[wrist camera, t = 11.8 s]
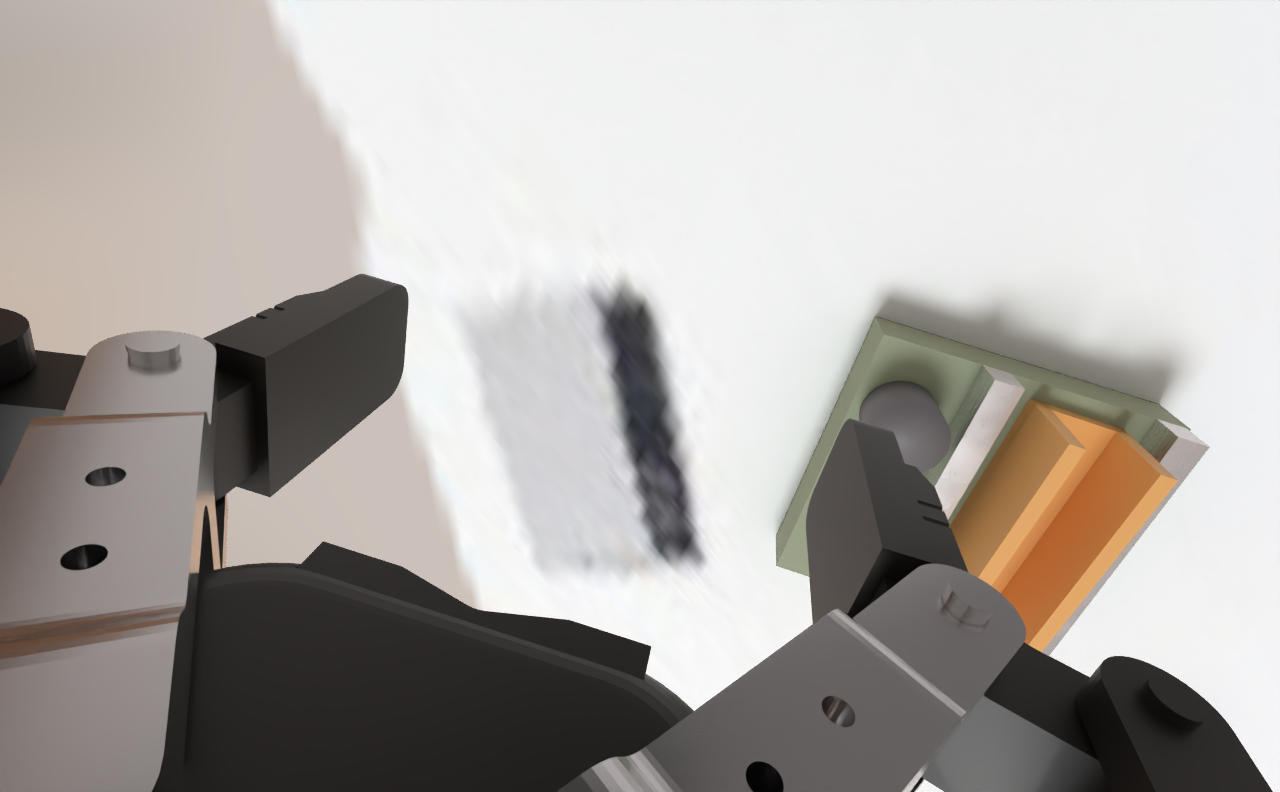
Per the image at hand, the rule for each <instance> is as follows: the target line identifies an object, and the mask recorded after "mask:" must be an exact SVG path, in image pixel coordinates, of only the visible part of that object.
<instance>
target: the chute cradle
mask: <svg viewBox="0 0 1280 792" xmlns="http://www.w3.org/2000/svg"><path fill="white" fill-rule="evenodd" d="M1024 391H1025V389H1024V387H1023V386H1022V385H1021V384H1020V383H1019V382H1018V381H1017V379H1016V378H1015V377H1014V376H1013V375H1012V374H1011V373H1007V372H1004V371H1001V370H998V369H994V368H991V367H988V366H985V365H983V366H982V368H981V370H980V371H979V373H978V375H977V377H976V379H975V380H974V382H973V384H972V386H971V388H970V390H969V391H968V393H967V395H966V397H965V399H964V401H963V402H962V404H961V406H960V408H959V410H958V411H957V413H956V415H955V417H954V419H953V421H952V422H951V424H950V426H949V428H950V432H951V444H950V447H949V450H948V452H947V454H946V455H945V457H944V458H943V459H942V461H941V462H939V463H938V464H937V465H936V466H935V467H933V468H931V469H930V470H928V471H925V472H924V473H923V475H924V476H925V477H926V478H927V479H928V481H929V482H930V483H931V484H932V485H933V486H934V487H935V489H936V491H937V494H938V496H939V499H940V501H941V504H942V507H943V508H942V511H944V512H945V514H946V517H947V519H949V517H950V516H951V514H952V512H953V511H954V509H955V507H956V506H957V504H958V502H959V501H960V499H961V497H962V495H963V494H964V492H965V490H966V489H967V487H968V485H969V484H970V482H971V480H972V479H973V477H974V475H975V474H976V472H977V470H978V468H979V467H980V465H981V463H982V462H983V460H984V458H985V457H986V455H987V453H988V452H989V450H990V448H991V446H992V445H993V443H994V441H995V440H996V438H997V436H998V435H999V433H1000V431H1001V430H1002V428H1003V426H1004V425H1005V423H1006V421H1007V419H1008V418H1009V416H1010V414H1011V413H1012V411H1013V409H1014V408H1015V406H1016V404H1017V403H1018V401H1019V399H1020V398H1021V396H1022V394H1023V392H1024ZM1139 444H1140V445H1141V446H1142V447H1143V448H1144V449H1145V450H1146V451H1147V452H1149V453H1150V454H1151V455H1152V456H1153V457H1154V458H1155V459H1156V460H1157V461H1158V462H1159V463H1160V464H1161V465H1162V466H1163V467H1164V468H1166V469H1167V470H1168V471H1169V472H1170V473H1171V474H1172V475H1173V476H1174V477H1175V478H1176V479H1177V480H1178V482H1177V483H1176V484H1175V485H1174V487H1173V488H1172V489H1171V490H1170V492H1169V493H1168V494H1167V496H1166V497H1165V498H1164V499H1163V501H1162V502H1161V503H1160V504H1159V506H1158V507H1157V508H1156V509H1155V511H1154V512H1153V513H1152V514H1151V516H1150V517H1149V518H1148V519H1147V521H1146V522H1145V523H1144V524H1143V526H1142V527H1141V528H1140V529H1139V531H1138V532H1137V533H1136V534H1135V536H1134V537H1133V538H1132V539H1131V541H1130V542H1129V543H1128V544H1127V546H1126V547H1125V548H1124V549H1123V551H1122V552H1121V553H1120V554H1119V556H1118V557H1117V558H1116V560H1115V561H1114V562H1113V563H1112V565H1111V566H1110V567H1109V568H1108V570H1107V571H1106V572H1105V573H1104V575H1103V576H1102V577H1101V578H1100V580H1099V581H1098V582H1097V583H1096V585H1095V586H1094V587H1093V588H1092V590H1091V591H1090V592H1089V593H1088V595H1087V596H1086V597H1085V598H1084V600H1083V601H1082V602H1081V603H1080V605H1079V606H1078V607H1077V608H1076V610H1075V611H1074V612H1073V613H1072V615H1071V616H1070V617H1069V618H1068V620H1067V621H1066V622H1065V624H1064V625H1063V626H1062V627H1061V629H1060V630H1059V631H1058V632H1057V634H1056V635H1055V636H1054V637H1053V639H1052V640H1051V641H1050V642H1049V644H1048V645H1047V646H1046V647H1045V649H1044V650H1043V651H1042V653H1044V654H1046V655H1048V656H1049V655H1050V654H1051V653H1052V651H1053V650H1054V649H1055V647H1056V646H1057V645H1058V643H1059V642H1060V641H1061V640H1062V638H1063V637H1064V636H1065V634H1066V633H1067V632H1068V630H1069V629H1070V628H1071V627H1072V625H1073V624H1074V623H1075V621H1076V620H1077V619H1078V617H1079V616H1080V615H1081V614H1082V612H1083V611H1084V610H1085V608H1086V607H1087V606H1088V604H1089V603H1090V602H1091V601H1092V599H1093V598H1094V597H1095V595H1096V594H1097V593H1098V591H1099V590H1100V589H1101V588H1102V586H1103V585H1104V584H1105V582H1106V581H1107V580H1108V578H1109V577H1110V576H1111V575H1112V573H1113V572H1114V571H1115V569H1116V568H1117V567H1118V565H1119V564H1120V563H1121V562H1122V560H1123V559H1124V558H1125V556H1126V555H1127V554H1128V552H1129V551H1130V550H1131V549H1132V547H1133V546H1134V545H1135V543H1136V542H1137V541H1138V539H1139V538H1140V537H1141V536H1142V534H1143V533H1144V532H1145V530H1146V529H1147V528H1148V526H1149V525H1150V524H1151V523H1152V521H1153V520H1154V519H1155V517H1156V516H1157V515H1158V513H1159V512H1160V511H1161V510H1162V508H1163V507H1164V506H1165V504H1166V503H1167V502H1168V500H1169V499H1170V498H1171V497H1172V495H1173V494H1174V493H1175V491H1176V490H1177V489H1178V487H1179V486H1180V485H1181V484H1182V482H1183V481H1184V480H1185V478H1186V477H1187V476H1188V474H1189V473H1190V472H1191V471H1192V469H1193V468H1194V467H1195V465H1196V464H1197V463H1198V461H1199V460H1200V459H1201V458H1202V456H1203V455H1204V454H1205V452H1206V451H1207V450H1208V448H1209V446H1208V445H1207V444H1205V443H1204V442H1203V441H1202V440H1200V439H1199V438H1198V437H1197V436H1195V435H1194V434H1193V433H1192V432H1190V431H1189V430H1188V429H1187V428H1184V427H1181V426H1178V425H1175V424H1171V423H1168V422H1165V421H1162V420H1159V419H1156V420H1155V422H1154V423H1153V425H1152V426H1151V427H1150V429H1149V430H1148V432H1147V433H1146V435H1145V436H1144V437H1143V439H1142V440H1141V442H1140V443H1139Z"/></svg>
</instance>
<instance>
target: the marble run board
mask: <svg viewBox="0 0 1280 792" xmlns="http://www.w3.org/2000/svg"><path fill="white" fill-rule="evenodd" d="M983 365H985V366H988V367H991V368H994V369H998V370H1001V371H1004V372H1007V373H1011V374H1012V375H1013V376H1014V377H1015V378H1016V379H1017V381H1018V382H1019V383H1020V384H1021V385H1022V386H1023V387H1024V389H1025V391H1024V392H1023V394H1022V396H1021V398H1020V399H1019V401H1018V403H1017V404H1016V406H1015V408H1014V409H1013V411H1012V413H1011V414H1010V416H1009V418H1008V419H1007V421H1006V423H1005V425H1004V426H1003V428H1002V430H1001V431H1000V433H999V435H998V436H997V438H996V440H995V441H994V443H993V445H992V446H991V448H990V450H989V452H988V453H987V455H986V457H985V458H984V460H983V462H982V463H981V465H980V467H979V468H978V470H977V472H976V474H975V475H974V477H973V479H972V480H971V482H970V484H969V485H968V487H967V489H966V490H965V492H964V494H963V495H962V497H961V499H960V501H959V502H958V504H957V506H956V507H955V509H954V511H953V512H952V514H951V516H950V517H949V519H948V522H949V526H950V525H951V523H952V522H953V520H954V518H955V517H956V515H957V514H958V512H959V510H960V509H961V507H962V506H963V504H964V502H965V501H966V499H967V498H968V496H969V494H970V493H971V491H972V490H973V488H974V487H975V485H976V483H977V482H978V480H979V479H980V477H981V475H982V474H983V472H984V471H985V469H986V467H987V466H988V464H989V463H990V461H991V459H992V458H993V456H994V455H995V453H996V452H997V450H998V448H999V447H1000V445H1001V444H1002V442H1003V440H1004V439H1005V437H1006V436H1007V434H1008V432H1009V431H1010V429H1011V428H1012V426H1013V424H1014V423H1015V421H1016V420H1017V418H1018V417H1019V415H1020V413H1021V412H1022V410H1023V409H1024V407H1025V405H1026V404H1027V402H1028V401H1029V399H1030V398H1031V399H1034V400H1037V401H1040V402H1043V403H1046V404H1049V405H1052V406H1055V407H1058V408H1061V409H1064V410H1067V411H1070V412H1073V413H1076V414H1079V415H1082V416H1085V417H1088V418H1091V419H1094V420H1097V421H1100V422H1103V423H1106V424H1109V425H1112V426H1115V427H1118V428H1121V429H1124V430H1125V431H1126V432H1127V433H1128V434H1129V435H1130V436H1132V437H1133V438H1134V439H1135V440H1136V441H1137V442H1138V443H1140V442H1141V440H1142V439H1143V437H1144V436H1145V435H1146V433H1147V432H1148V430H1149V429H1150V427H1151V426H1152V425H1153V423H1154V422H1155V420H1156V419H1159V420H1162V421H1165V422H1168V423H1171V424H1175V425H1178V426H1181V427H1184V428H1187V429H1188V430H1189V431H1190V430H1191V429H1190V428H1188V427H1187V426H1186V425H1185V424H1183V423H1182V422H1181V421H1179V420H1178V419H1177V418H1176V417H1174V416H1173V415H1172V414H1171V413H1169V412H1168V411H1167V410H1166V409H1164V408H1163V407H1162V406H1161V405H1159V404H1156V403H1153V402H1150V401H1146V400H1143V399H1140V398H1137V397H1133V396H1130V395H1127V394H1124V393H1120V392H1117V391H1114V390H1111V389H1108V388H1104V387H1101V386H1098V385H1095V384H1091V383H1088V382H1085V381H1082V380H1078V379H1075V378H1072V377H1069V376H1066V375H1062V374H1059V373H1056V372H1053V371H1049V370H1046V369H1043V368H1040V367H1036V366H1033V365H1030V364H1027V363H1024V362H1020V361H1017V360H1014V359H1011V358H1007V357H1004V356H1001V355H998V354H995V353H991V352H988V351H985V350H982V349H978V348H975V347H972V346H969V345H965V344H962V343H959V342H956V341H953V340H949V339H946V338H943V337H940V336H936V335H933V334H930V333H927V332H923V331H920V330H917V329H914V328H911V327H907V326H904V325H901V324H898V323H894V322H891V321H888V320H885V319H881V318H878V317H875V318H874V321H873V323H872V325H871V327H870V330H869V332H868V334H867V336H866V338H865V341H864V343H863V345H862V347H861V350H860V352H859V354H858V356H857V358H856V361H855V363H854V365H853V367H852V369H851V372H850V374H849V376H848V378H847V381H846V383H845V385H844V387H843V389H842V392H841V394H840V396H839V398H838V401H837V403H836V405H835V407H834V409H833V412H832V414H831V416H830V418H829V420H828V423H827V425H826V427H825V429H824V432H823V434H822V436H821V438H820V440H819V443H818V445H817V447H816V449H815V452H814V454H813V456H812V458H811V460H810V463H809V465H808V467H807V469H806V471H805V474H804V476H803V478H802V480H801V483H800V485H799V487H798V489H797V491H796V494H795V496H794V498H793V500H792V503H791V505H790V507H789V509H788V511H787V514H786V516H785V518H784V520H783V522H782V525H781V527H780V529H779V531H778V534H777V536H776V566H779V567H782V568H785V569H788V570H791V571H794V572H797V573H800V574H803V575H806V576H809V563H808V550H807V536H806V516H807V511H808V506H809V502H810V499H811V496H812V493H813V491H814V488H815V486H816V484H817V482H818V479H819V477H820V475H821V473H822V470H823V468H824V466H825V464H826V461H827V459H828V457H829V454H830V452H831V450H832V448H833V445H834V443H835V441H836V439H837V436H838V434H839V432H840V430H841V428H842V426H843V424H844V423H845V422H846V421H847V420H848V419H850V418H851V419H854V420H858V421H861V422H864V423H868V424H871V425H874V426H878V427H881V428H885V429H888V430H891V431H893V432H894V434H895V437H896V440H897V442H898V445H899V448H900V451H901V454H902V457H903V460H904V463H905V464H908V465H911V466H915V467H917V468H918V470H919V471H920V472H921V473H922V474H923V473H924V472H925V471H928V470H930V469H931V468H933V467H935V466H936V465H937V464H938V463H939V462H941V461H942V459H943V458H944V457H945V455H946V454H947V452H948V450H949V447H950V444H951V432H950V428H949V426H950V424H951V422H952V421H953V419H954V417H955V415H956V413H957V411H958V410H959V408H960V406H961V404H962V402H963V401H964V399H965V397H966V395H967V393H968V391H969V390H970V388H971V386H972V384H973V382H974V380H975V379H976V377H977V375H978V373H979V371H980V370H981V368H982V366H983Z"/></svg>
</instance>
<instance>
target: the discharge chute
mask: <svg viewBox="0 0 1280 792" xmlns="http://www.w3.org/2000/svg"><path fill="white" fill-rule="evenodd" d="M1177 482H1178V480H1177V479H1176V478H1175V477H1174V476H1173V475H1172V474H1171V473H1170V472H1169V471H1168V470H1167V469H1166V468H1164V467H1163V466H1162V465H1161V464H1160V463H1159V462H1158V461H1157V460H1156V459H1155V458H1154V457H1153V456H1152V455H1151V454H1150V453H1149V452H1147V451H1146V450H1145V449H1144V448H1143V447H1142V446H1141V445H1140V444H1139V443H1138V442H1137V441H1136V440H1135V439H1134V438H1133V437H1132V436H1130V435H1129V434H1128V433H1127V432H1126V431H1125V430H1124V429H1121V428H1118V427H1115V426H1112V425H1109V424H1106V423H1103V422H1100V421H1097V420H1094V419H1091V418H1088V417H1085V416H1082V415H1079V414H1076V413H1073V412H1070V411H1067V410H1064V409H1061V408H1058V407H1055V406H1052V405H1049V404H1046V403H1043V402H1040V401H1037V400H1034V399H1031V398H1030V399H1029V401H1028V402H1027V404H1026V405H1025V407H1024V409H1023V410H1022V412H1021V413H1020V415H1019V417H1018V418H1017V420H1016V421H1015V423H1014V424H1013V426H1012V428H1011V429H1010V431H1009V432H1008V434H1007V436H1006V437H1005V439H1004V440H1003V442H1002V444H1001V445H1000V447H999V448H998V450H997V452H996V453H995V455H994V456H993V458H992V459H991V461H990V463H989V464H988V466H987V467H986V469H985V471H984V472H983V474H982V475H981V477H980V479H979V480H978V482H977V483H976V485H975V487H974V488H973V490H972V491H971V493H970V494H969V496H968V498H967V499H966V501H965V502H964V504H963V506H962V507H961V509H960V510H959V512H958V514H957V515H956V517H955V518H954V520H953V522H952V523H951V525H950V526H949V528H951V529H952V532H953V534H954V537H955V539H956V542H957V544H958V547H959V549H960V552H961V555H962V557H963V560H964V562H965V565H966V567H967V570H968V572H969V573H970V574H972V575H974V576H976V577H978V578H980V579H981V580H983V581H984V582H986V583H988V584H989V585H990V586H992V587H993V588H995V589H996V590H997V591H998V592H1000V593H1001V594H1002V595H1003V596H1004V597H1005V598H1006V599H1007V600H1008V601H1009V602H1010V603H1011V604H1012V605H1013V606H1014V608H1015V609H1016V610H1017V611H1018V613H1019V615H1020V616H1021V618H1022V620H1023V622H1024V625H1025V628H1026V639H1025V641H1024V642H1025V643H1026V644H1028V645H1030V646H1031V647H1033V648H1035V649H1037V650H1038V651H1040V652H1042V651H1043V650H1044V649H1045V647H1046V646H1047V645H1048V644H1049V642H1050V641H1051V640H1052V639H1053V637H1054V636H1055V635H1056V634H1057V632H1058V631H1059V630H1060V629H1061V627H1062V626H1063V625H1064V624H1065V622H1066V621H1067V620H1068V618H1069V617H1070V616H1071V615H1072V613H1073V612H1074V611H1075V610H1076V608H1077V607H1078V606H1079V605H1080V603H1081V602H1082V601H1083V600H1084V598H1085V597H1086V596H1087V595H1088V593H1089V592H1090V591H1091V590H1092V588H1093V587H1094V586H1095V585H1096V583H1097V582H1098V581H1099V580H1100V578H1101V577H1102V576H1103V575H1104V573H1105V572H1106V571H1107V570H1108V568H1109V567H1110V566H1111V565H1112V563H1113V562H1114V561H1115V560H1116V558H1117V557H1118V556H1119V554H1120V553H1121V552H1122V551H1123V549H1124V548H1125V547H1126V546H1127V544H1128V543H1129V542H1130V541H1131V539H1132V538H1133V537H1134V536H1135V534H1136V533H1137V532H1138V531H1139V529H1140V528H1141V527H1142V526H1143V524H1144V523H1145V522H1146V521H1147V519H1148V518H1149V517H1150V516H1151V514H1152V513H1153V512H1154V511H1155V509H1156V508H1157V507H1158V506H1159V504H1160V503H1161V502H1162V501H1163V499H1164V498H1165V497H1166V496H1167V494H1168V493H1169V492H1170V490H1171V489H1172V488H1173V487H1174V485H1175V484H1176V483H1177Z"/></svg>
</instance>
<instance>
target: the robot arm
mask: <svg viewBox="0 0 1280 792" xmlns="http://www.w3.org/2000/svg"><path fill="white" fill-rule="evenodd" d="M407 315H408V293H407V290H406V288H405V287H404V286H402V285H399V284H396V283H392V282H389V281H386V280H382V279H379V278H375V277H372V276H369V275H365V274H359V275H356V276H354V277H352V278H350V279H348V280H346V281H344V282H342V283H340V284H338V285H335V286H333V287H331V288H329V289H327V290H325V291H321V292H315V293H310V294H304V295H299V296H295V297H293V298H291V299H289V300H286V301H284V302H283V303H280V304H278V305H276V306H275V307H274V309H273V308H269V309H267V310H264V311H262V312H260V313H258V314H257V315H256V317H253V316H251V317H249V318H247V319H245V320H243V321H240V322H238V323H236V324H234V325H232V326H229V327H227V328H225V329H223V330H221V331H218V332H216V333H214V334H212V335H210V336H207V337H205V338H203V339H202V338H200V337H198V336H194V335H191V334H186V333H181V332H172V331H143V332H133V333H127V334H122V335H118V336H114V337H111V338H108V339H106V340H103V341H101V342H99V343H98V344H96V345H94V346H93V347H92V348H91V349H90V350H89V352H88V353H87V355H86V356H81V355H72V354H64V353H55V352H48V351H38V350H35V348H34V344H33V339H32V334H31V330H30V325H29V322H28V321H27V319H26V318H25V317H23V316H22V315H20V314H18V313H16V312H13V311H10V310H6V309H2V308H0V792H916V791H917V790H918V788H919V787H920V786H921V784H922V783H923V782H924V780H927V781H928V782H930V783H932V784H933V785H935V786H936V787H938V788H940V789H941V790H943V791H944V792H1273V791H1272V790H1271V788H1270V787H1269V785H1268V784H1267V782H1266V781H1265V779H1264V778H1263V776H1262V775H1261V773H1260V771H1259V770H1258V768H1257V767H1256V765H1255V764H1254V762H1253V761H1252V759H1251V758H1250V756H1249V755H1248V753H1247V751H1246V750H1245V748H1244V747H1243V745H1242V744H1241V742H1240V741H1239V739H1238V738H1237V736H1236V734H1235V733H1234V731H1233V730H1232V729H1231V727H1230V726H1229V724H1228V723H1227V722H1226V721H1225V719H1224V718H1223V717H1222V716H1221V715H1220V714H1219V713H1218V711H1217V710H1216V709H1215V708H1214V707H1212V706H1211V705H1210V704H1209V703H1208V702H1207V701H1206V700H1205V699H1204V698H1203V697H1201V696H1200V695H1199V694H1198V693H1197V692H1195V691H1194V690H1193V689H1191V688H1190V687H1189V686H1187V685H1186V684H1185V683H1183V682H1182V681H1180V680H1179V679H1177V678H1176V677H1174V676H1172V675H1171V674H1169V673H1167V672H1165V671H1164V670H1162V669H1160V668H1157V667H1155V666H1153V665H1151V664H1149V663H1146V662H1144V661H1141V660H1138V659H1134V658H1130V657H1124V656H1113V657H1109V658H1107V659H1106V660H1104V661H1103V662H1102V664H1101V665H1100V666H1099V667H1098V669H1097V670H1096V671H1095V672H1094V673H1093V675H1092V676H1091V677H1088V676H1086V675H1084V674H1082V673H1080V672H1078V671H1076V670H1074V669H1073V668H1071V667H1069V666H1067V665H1065V664H1063V663H1061V662H1059V661H1057V660H1055V659H1053V658H1052V657H1050V656H1048V655H1046V654H1044V653H1042V652H1040V651H1038V650H1037V649H1035V648H1033V647H1031V646H1030V645H1028V644H1026V643H1025V642H1024V641H1025V639H1026V628H1025V625H1024V622H1023V620H1022V618H1021V616H1020V615H1019V613H1018V611H1017V610H1016V609H1015V608H1014V606H1013V605H1012V604H1011V603H1010V602H1009V601H1008V600H1007V599H1006V598H1005V597H1004V596H1003V595H1002V594H1001V593H1000V592H998V591H997V590H996V589H995V588H993V587H992V586H990V585H989V584H988V583H986V582H984V581H983V580H981V579H980V578H978V577H976V576H974V575H972V574H970V573H969V572H968V570H967V567H966V565H965V562H964V560H963V557H962V555H961V552H960V549H959V547H958V544H957V542H956V539H955V537H954V534H953V532H952V529H951V528H949V522H948V519H947V517H946V514H945V512H944V511H942V508H943V507H942V504H941V501H940V499H939V496H938V494H937V491H936V489H935V487H934V486H933V485H932V484H931V483H930V482H929V481H928V479H927V478H926V477H925V476H924V475H923V474H922V473H921V472H920V471H919V470H918V468H917V467H915V466H911V465H908V464H905V463H904V460H903V457H902V454H901V451H900V448H899V445H898V442H897V440H896V437H895V434H894V432H893V431H891V430H888V429H885V428H881V427H878V426H874V425H871V424H868V423H864V422H861V421H858V420H854V419H851V418H850V419H848V420H847V421H846V422H845V423H844V424H843V426H842V428H841V430H840V432H839V434H838V436H837V439H836V441H835V443H834V445H833V448H832V450H831V452H830V454H829V457H828V459H827V461H826V464H825V466H824V468H823V470H822V473H821V475H820V477H819V479H818V482H817V484H816V486H815V488H814V491H813V493H812V496H811V499H810V502H809V506H808V511H807V516H806V536H807V550H808V563H809V577H810V591H811V604H812V618H813V625H811V626H810V627H809V628H807V629H806V630H804V631H803V632H802V633H800V634H799V635H798V636H796V637H795V638H794V639H792V640H791V641H789V642H788V643H787V644H785V645H784V646H783V647H781V648H780V649H778V650H777V651H776V652H774V653H773V654H772V655H770V656H769V657H768V658H766V659H765V660H763V661H762V662H761V663H759V664H758V665H757V666H755V667H754V668H753V669H751V670H750V671H748V672H747V673H746V674H744V675H743V676H742V677H740V678H739V679H738V680H736V681H735V682H733V683H732V684H731V685H729V686H728V687H727V688H725V689H724V690H722V691H721V692H720V693H718V694H717V695H716V696H714V697H713V698H712V699H710V700H709V701H707V702H706V703H705V704H703V705H702V706H701V707H699V708H698V709H696V710H695V711H693V710H692V709H691V708H690V707H689V706H688V705H687V704H686V703H685V702H684V701H683V700H681V699H680V698H679V697H678V696H677V695H676V694H674V693H673V692H672V691H670V690H669V689H668V688H666V687H665V686H664V685H662V684H661V683H659V682H658V681H656V680H655V679H653V678H652V677H650V676H648V675H647V674H645V673H646V669H647V664H648V659H649V655H650V650H651V646H648V645H645V644H642V643H639V642H636V641H633V640H630V639H627V638H623V637H620V636H617V635H614V634H611V633H608V632H605V631H602V630H598V629H595V628H592V627H589V626H586V625H583V624H580V623H577V622H573V621H570V620H564V619H554V618H545V617H536V616H526V615H517V614H508V613H498V612H489V611H482V610H477V609H474V608H472V607H470V606H468V605H466V604H464V603H463V602H461V601H459V600H458V599H455V598H454V597H452V596H451V595H449V594H447V593H446V592H444V591H442V590H441V589H439V588H437V587H436V586H434V585H432V584H430V583H429V582H427V581H425V580H424V579H422V578H420V577H419V576H417V575H415V574H414V573H412V572H410V571H408V570H407V569H405V568H403V567H401V566H398V565H395V564H392V563H389V562H386V561H383V560H380V559H376V558H373V557H370V556H367V555H364V554H361V553H357V552H355V551H351V550H348V549H345V548H342V547H339V546H336V545H333V544H330V543H327V542H322V543H321V544H320V545H319V546H318V547H317V548H316V549H315V550H314V552H312V554H310V555H309V557H308V558H307V559H306V560H305V561H304V562H303V563H302V564H295V563H260V564H246V565H239V566H232V567H226V548H227V547H226V545H227V521H228V506H227V493H228V492H229V491H231V490H232V489H233V488H235V487H240V488H243V489H246V490H249V491H252V492H255V493H259V494H262V495H265V496H268V497H271V496H272V495H273V494H274V493H276V492H277V491H278V490H279V489H281V488H282V487H283V486H284V485H285V484H287V483H288V482H289V481H290V480H291V479H293V478H294V477H295V476H296V475H297V474H299V473H300V472H301V471H302V470H303V469H305V468H306V467H307V466H308V465H309V464H311V463H312V462H313V461H314V460H315V459H317V458H318V457H319V456H320V455H321V454H323V453H324V452H325V451H326V450H327V449H329V448H330V447H331V446H332V445H333V444H335V443H336V442H337V441H338V440H339V439H341V438H342V437H343V436H344V435H345V434H346V433H348V432H349V431H350V430H352V429H353V428H354V427H355V426H356V425H357V424H359V423H360V422H361V421H362V420H363V419H365V418H366V417H367V416H368V415H370V414H371V413H372V412H373V411H374V410H376V409H377V408H378V407H379V406H380V405H381V404H383V403H384V402H385V401H386V400H388V399H389V398H390V397H391V396H392V394H393V393H394V391H395V390H396V388H397V386H398V384H399V382H400V379H401V376H402V373H403V367H404V355H405V342H406V328H407Z"/></svg>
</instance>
